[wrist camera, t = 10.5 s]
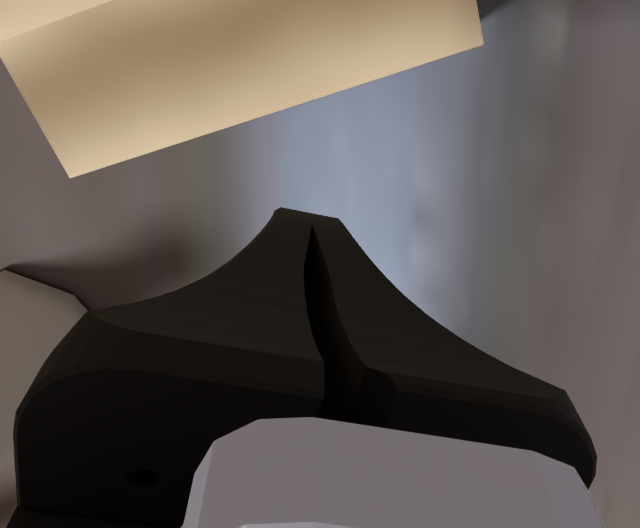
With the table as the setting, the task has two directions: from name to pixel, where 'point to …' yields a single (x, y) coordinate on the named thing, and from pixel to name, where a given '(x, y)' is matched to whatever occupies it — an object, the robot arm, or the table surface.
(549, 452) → the robot arm
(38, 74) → the birch board
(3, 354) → the flask
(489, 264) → the table surface
